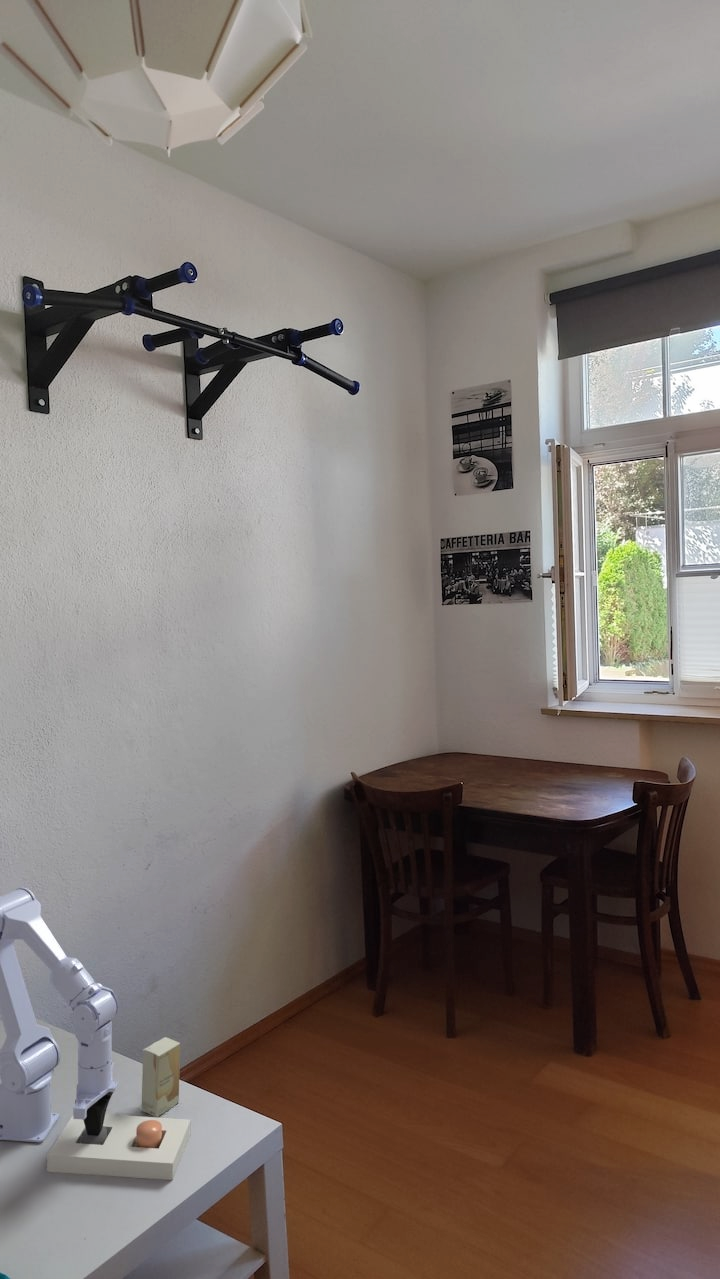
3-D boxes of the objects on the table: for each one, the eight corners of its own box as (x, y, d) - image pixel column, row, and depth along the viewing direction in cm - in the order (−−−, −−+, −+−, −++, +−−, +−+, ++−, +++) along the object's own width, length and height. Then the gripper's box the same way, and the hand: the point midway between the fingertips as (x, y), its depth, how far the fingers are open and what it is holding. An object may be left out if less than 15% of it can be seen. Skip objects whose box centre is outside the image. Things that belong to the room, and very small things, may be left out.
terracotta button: (132, 1151, 151) (133, 1134, 150) (140, 1135, 155) (140, 1119, 155) (157, 1152, 150) (157, 1136, 150) (164, 1136, 155) (164, 1120, 155)
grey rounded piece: (77, 1156, 151) (77, 1140, 151) (86, 1140, 156) (86, 1124, 156) (101, 1157, 151) (101, 1141, 151) (110, 1141, 156) (110, 1125, 155)
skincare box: (156, 1118, 163) (157, 1057, 162) (140, 1110, 165) (141, 1049, 165) (180, 1102, 169) (181, 1042, 168) (164, 1094, 171) (165, 1035, 170)
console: (47, 1171, 148) (47, 1154, 148) (74, 1127, 160) (74, 1112, 160) (172, 1180, 147) (172, 1163, 146) (190, 1135, 159) (190, 1119, 158)
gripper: (102, 1085, 145) (101, 1161, 146) (130, 1039, 159) (129, 1109, 160) (61, 1082, 145) (61, 1159, 146) (93, 1037, 160) (92, 1107, 161)
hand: (94, 1133), depth 153 cm, fingers closed, pressing on grey rounded piece
